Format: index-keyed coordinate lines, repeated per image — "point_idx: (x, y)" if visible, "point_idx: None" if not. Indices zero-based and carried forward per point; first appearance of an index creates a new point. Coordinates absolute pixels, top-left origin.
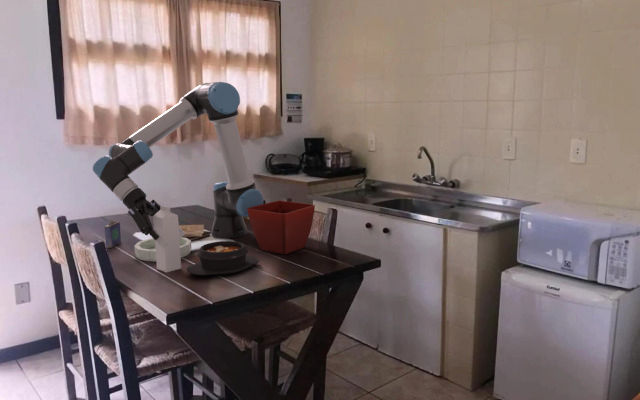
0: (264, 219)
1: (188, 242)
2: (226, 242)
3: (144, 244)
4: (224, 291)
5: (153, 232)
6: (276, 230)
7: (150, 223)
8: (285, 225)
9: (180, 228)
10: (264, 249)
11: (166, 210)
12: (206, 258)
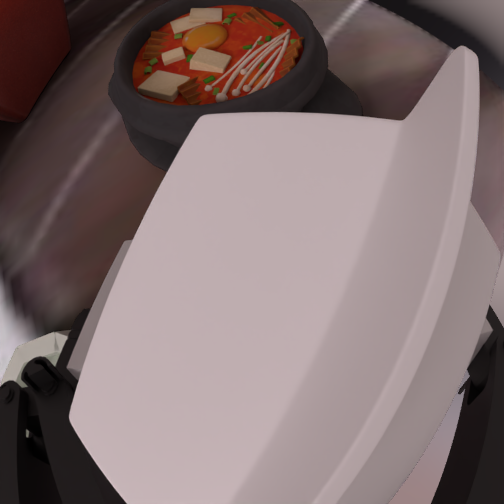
0: (1, 23)
1: (34, 347)
2: (124, 67)
3: None
4: (392, 39)
5: (491, 316)
6: (44, 8)
7: (500, 403)
8: None
9: (110, 278)
10: (32, 103)
11: (362, 309)
12: (325, 62)
